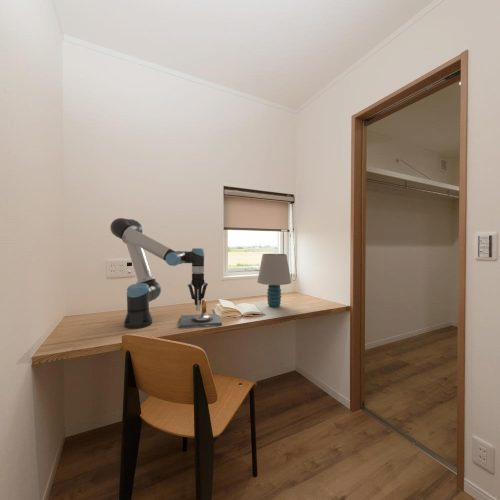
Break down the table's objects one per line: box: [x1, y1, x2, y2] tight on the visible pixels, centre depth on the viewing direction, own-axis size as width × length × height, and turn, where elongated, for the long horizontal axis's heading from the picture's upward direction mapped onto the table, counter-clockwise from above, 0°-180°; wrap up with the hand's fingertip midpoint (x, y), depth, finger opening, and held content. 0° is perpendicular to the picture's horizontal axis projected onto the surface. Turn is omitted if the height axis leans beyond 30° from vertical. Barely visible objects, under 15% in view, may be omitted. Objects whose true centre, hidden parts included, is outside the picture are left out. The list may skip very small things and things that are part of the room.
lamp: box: [257, 253, 292, 308], centre depth 188 cm, size 25×25×39 cm
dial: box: [194, 299, 211, 321], centre depth 154 cm, size 14×10×10 cm
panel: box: [178, 312, 223, 329], centre depth 153 cm, size 24×19×2 cm
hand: (197, 310), depth 158 cm, fingers closed
